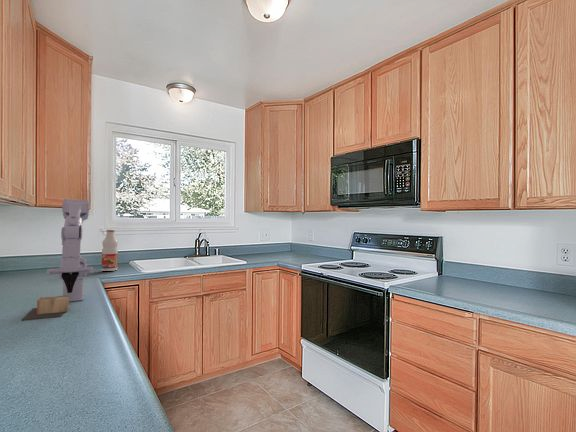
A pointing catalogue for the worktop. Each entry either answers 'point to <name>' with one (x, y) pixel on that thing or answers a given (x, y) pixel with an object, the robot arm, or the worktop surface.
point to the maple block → (52, 304)
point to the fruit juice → (109, 252)
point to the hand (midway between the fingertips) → (69, 292)
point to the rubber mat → (40, 315)
